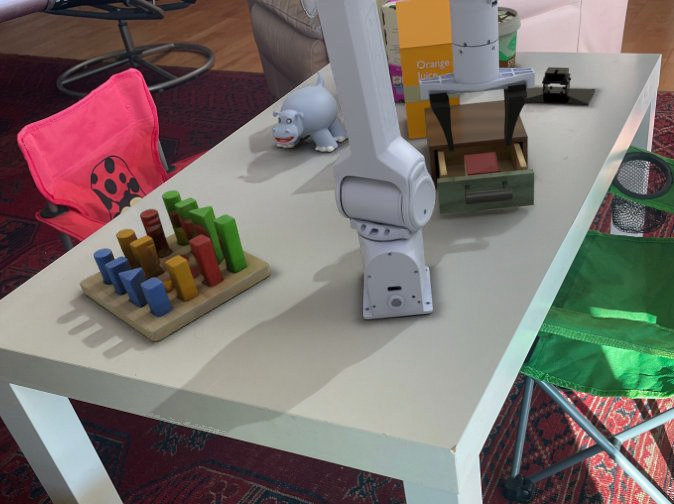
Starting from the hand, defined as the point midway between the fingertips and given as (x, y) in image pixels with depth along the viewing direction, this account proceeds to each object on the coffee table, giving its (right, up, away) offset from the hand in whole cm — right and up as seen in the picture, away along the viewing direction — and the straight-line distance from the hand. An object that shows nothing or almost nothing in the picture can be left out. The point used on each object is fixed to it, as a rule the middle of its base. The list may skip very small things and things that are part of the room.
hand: (479, 145), depth 100 cm
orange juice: (-6, +11, +26) cm, 28 cm away
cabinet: (0, +2, +14) cm, 14 cm away
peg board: (-39, -19, -5) cm, 44 cm away
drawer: (+1, -6, +4) cm, 7 cm away
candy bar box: (-7, +20, +36) cm, 42 cm away
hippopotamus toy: (-26, +7, +25) cm, 37 cm away
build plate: (+16, +18, +31) cm, 39 cm away
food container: (+8, +28, +43) cm, 52 cm away
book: (+1, -4, +4) cm, 6 cm away
